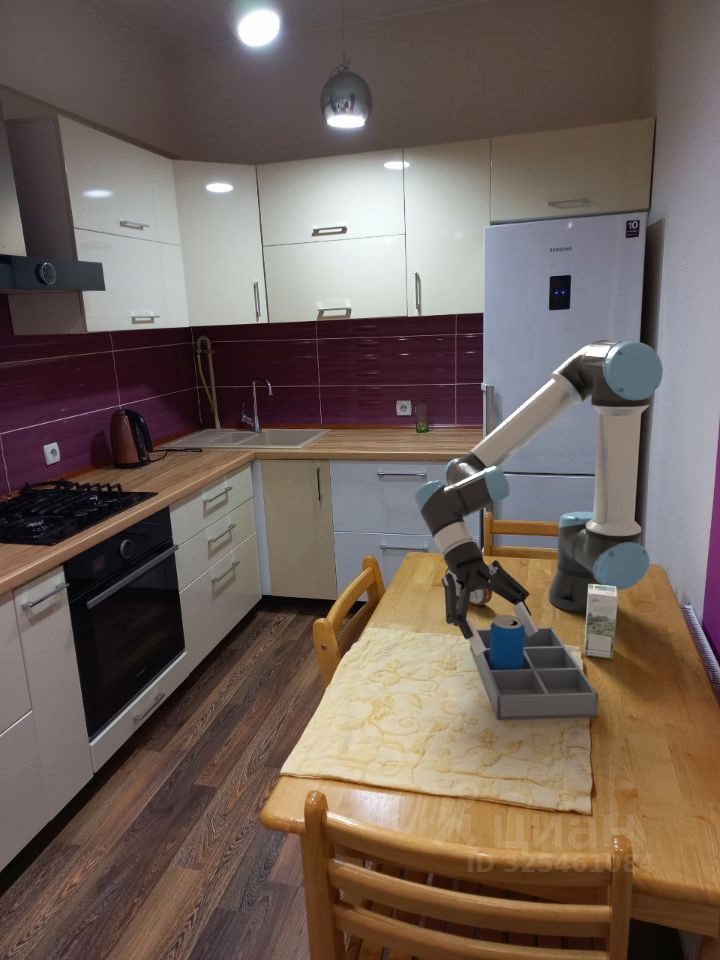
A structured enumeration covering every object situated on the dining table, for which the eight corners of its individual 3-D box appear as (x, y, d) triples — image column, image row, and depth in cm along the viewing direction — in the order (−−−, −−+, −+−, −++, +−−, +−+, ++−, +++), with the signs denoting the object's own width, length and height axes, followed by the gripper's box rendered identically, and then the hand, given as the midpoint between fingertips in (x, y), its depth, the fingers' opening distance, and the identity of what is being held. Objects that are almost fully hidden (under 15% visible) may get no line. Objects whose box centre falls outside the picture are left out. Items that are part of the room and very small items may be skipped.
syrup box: (612, 647, 139) (616, 584, 136) (613, 660, 134) (618, 595, 130) (584, 643, 141) (588, 582, 138) (584, 656, 136) (588, 592, 132)
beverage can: (523, 687, 123) (525, 629, 121) (489, 684, 125) (490, 627, 122) (521, 669, 130) (524, 615, 127) (489, 667, 131) (490, 612, 128)
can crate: (551, 645, 140) (552, 627, 139) (596, 716, 115) (598, 694, 114) (470, 648, 140) (470, 629, 139) (497, 719, 114) (497, 697, 113)
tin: (492, 608, 160) (493, 576, 158) (483, 611, 158) (484, 579, 156) (451, 589, 172) (451, 559, 170) (442, 591, 171) (442, 562, 169)
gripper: (494, 545, 143) (542, 633, 134) (402, 569, 130) (448, 668, 121) (512, 529, 137) (564, 619, 128) (417, 552, 125) (467, 654, 116)
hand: (508, 643), depth 125 cm, fingers open, 13 cm apart
